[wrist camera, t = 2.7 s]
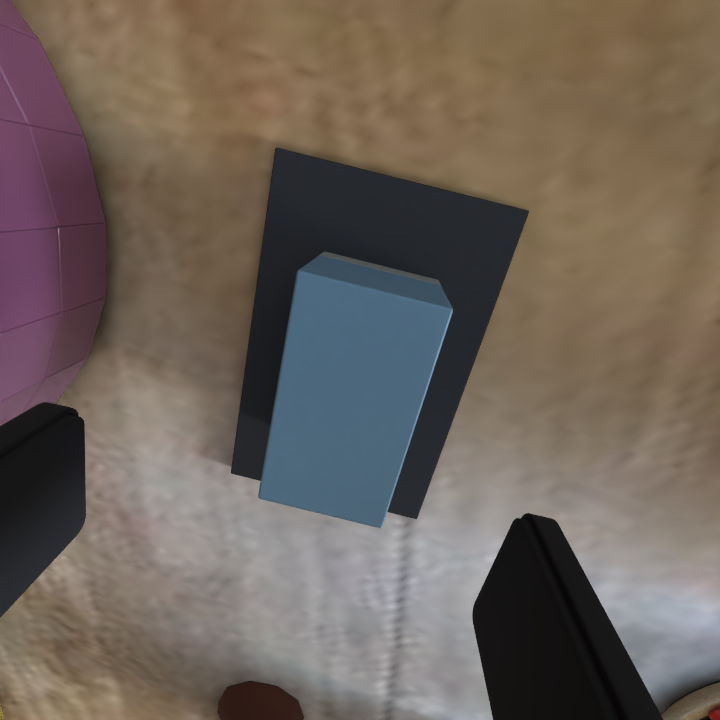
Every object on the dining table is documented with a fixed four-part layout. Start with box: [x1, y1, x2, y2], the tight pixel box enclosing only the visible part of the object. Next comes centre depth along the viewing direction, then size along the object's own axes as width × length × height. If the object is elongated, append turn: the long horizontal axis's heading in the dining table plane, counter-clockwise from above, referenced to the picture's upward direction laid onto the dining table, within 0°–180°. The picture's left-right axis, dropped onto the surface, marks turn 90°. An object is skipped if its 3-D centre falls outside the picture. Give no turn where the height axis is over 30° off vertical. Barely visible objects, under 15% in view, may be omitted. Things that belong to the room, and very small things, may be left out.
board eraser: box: [258, 252, 453, 528], centre depth 15 cm, size 8×4×4 cm, turn 167°
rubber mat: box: [231, 148, 529, 519], centre depth 17 cm, size 14×9×1 cm, turn 167°
